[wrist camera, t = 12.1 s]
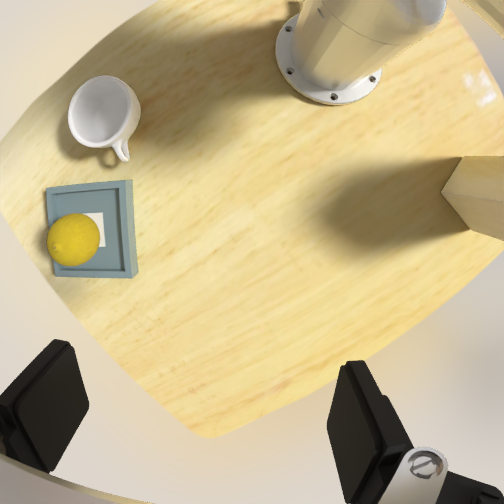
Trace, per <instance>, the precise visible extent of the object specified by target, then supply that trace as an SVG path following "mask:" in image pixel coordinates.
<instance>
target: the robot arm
mask: <svg viewBox="0 0 504 504" xmlns="http://www.w3.org/2000/svg"><path fill="white" fill-rule="evenodd" d="M446 1H447V0H305V1H304V4H303V6H302V9H301V12H300V13H299V14H297V15H295V16H293V17H292V18H290V19H289V20H288V21H287V22H286V23H285V24H284V25H283V27H282V28H281V30H280V31H279V34H278V37H277V40H276V45H275V57H276V61H277V65H278V67H279V69H280V71H281V74H282V75H283V77H284V78H285V79H286V81H287V82H288V83H289V84H290V85H291V86H292V87H293V88H294V89H295V90H296V91H298V92H299V93H300V94H302V95H303V96H305V97H307V98H309V99H311V100H313V101H316V102H319V103H323V104H328V105H346V104H350V103H354V102H356V101H359V100H361V99H363V98H364V97H366V96H367V95H369V94H370V93H371V92H372V91H373V90H374V89H375V87H376V86H377V84H378V83H379V80H380V77H381V75H382V68H383V66H385V65H386V64H387V63H389V62H390V61H392V60H393V59H394V58H396V57H397V56H398V55H400V54H401V53H403V52H404V51H406V50H407V49H408V48H410V47H411V46H413V45H414V44H416V43H417V42H418V41H420V40H421V39H422V38H424V37H425V36H427V35H428V34H430V33H431V32H432V31H433V30H434V29H435V28H436V27H437V26H438V24H439V23H440V21H441V20H442V17H443V15H444V12H445V8H446ZM460 1H461V2H462V3H465V4H466V5H467V6H468V7H470V8H471V9H472V10H473V11H474V12H475V13H476V14H478V15H479V16H480V17H481V18H482V19H483V20H484V21H485V22H486V23H487V24H489V25H490V26H491V27H492V28H493V29H494V30H495V31H496V32H497V33H498V34H499V35H500V36H501V37H502V38H503V39H504V0H460ZM287 31H290V32H287ZM287 72H291V73H292V74H291V75H290V74H288V73H287ZM369 79H370V80H371V81H372V82H371V81H370V80H369ZM330 97H333V98H334V100H332V99H331V98H330ZM88 409H89V401H88V397H87V394H86V391H85V388H84V384H83V381H82V377H81V373H80V370H79V366H78V362H77V358H76V354H75V350H74V348H73V347H72V346H71V345H70V343H69V342H67V341H63V340H57V339H54V340H53V341H52V342H51V343H50V344H49V345H48V346H47V347H46V348H45V349H44V350H43V351H42V352H41V353H40V354H39V355H38V356H37V357H36V358H35V359H34V360H33V361H32V362H31V363H30V364H29V365H28V366H27V367H26V368H25V369H24V370H23V371H22V373H20V375H19V376H18V377H17V378H16V379H15V380H14V381H13V382H12V383H11V384H10V385H9V386H8V387H7V389H6V390H5V391H4V392H3V393H2V394H1V395H0V504H153V503H148V502H142V501H138V500H133V499H129V498H124V497H120V496H116V495H112V494H108V493H104V492H101V491H98V490H94V489H91V488H87V487H84V486H81V485H78V484H75V483H72V482H69V481H66V480H63V479H60V478H58V477H55V476H52V475H50V474H49V473H50V471H54V469H55V468H56V466H57V464H58V462H59V461H60V459H61V457H62V455H63V453H64V451H65V450H66V448H67V446H68V444H69V443H70V441H71V439H72V437H73V435H74V434H75V432H76V430H77V429H78V427H79V425H80V423H81V421H82V420H83V418H84V416H85V415H86V413H87V411H88ZM327 431H328V435H329V439H330V443H331V447H332V450H333V455H334V459H335V462H336V467H337V471H338V474H339V479H340V483H341V487H342V491H343V495H344V499H345V502H346V503H347V504H350V503H351V504H504V496H503V494H502V493H501V491H500V490H498V489H497V488H496V487H494V486H491V485H488V484H485V483H482V482H479V481H476V480H473V479H470V478H467V477H464V476H461V475H458V474H455V473H453V472H450V471H447V470H448V463H447V460H446V458H445V457H444V455H443V454H442V453H440V452H439V451H438V450H435V449H433V448H429V447H417V448H414V447H413V445H412V443H411V441H410V439H409V437H408V435H407V433H406V431H405V429H404V427H403V425H402V423H401V421H400V419H399V417H398V415H397V413H396V411H395V409H394V408H393V406H392V404H391V402H390V400H389V398H388V397H387V396H385V395H382V394H381V392H380V390H379V388H378V386H377V384H376V382H375V380H374V378H373V376H372V374H371V372H370V371H369V369H368V367H367V365H366V363H365V362H364V361H363V360H359V361H347V362H346V364H345V365H342V366H341V367H340V371H339V375H338V380H337V384H336V388H335V393H334V397H333V401H332V405H331V409H330V413H329V417H328V420H327Z"/></svg>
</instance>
